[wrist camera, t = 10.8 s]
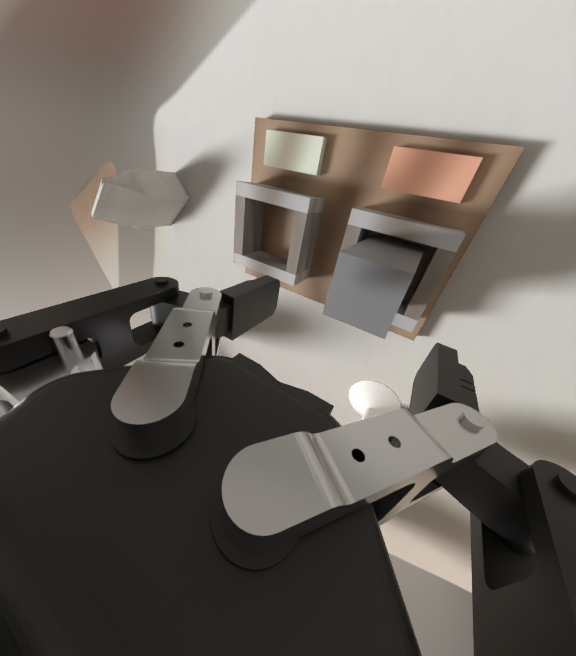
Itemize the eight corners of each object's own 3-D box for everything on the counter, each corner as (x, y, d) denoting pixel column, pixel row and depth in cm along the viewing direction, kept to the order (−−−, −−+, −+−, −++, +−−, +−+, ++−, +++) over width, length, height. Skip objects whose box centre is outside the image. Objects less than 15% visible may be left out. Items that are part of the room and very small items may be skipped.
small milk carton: (189, 198, 33) (113, 197, 25) (170, 225, 37) (100, 231, 30) (175, 172, 32) (93, 164, 25) (157, 203, 37) (82, 203, 29)
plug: (425, 246, 20) (414, 273, 13) (404, 292, 23) (384, 339, 15) (375, 234, 22) (339, 251, 14) (360, 278, 24) (322, 313, 17)
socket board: (520, 150, 16) (541, 135, 13) (414, 335, 25) (409, 357, 22) (262, 120, 24) (230, 106, 20) (250, 270, 33) (227, 279, 29)
